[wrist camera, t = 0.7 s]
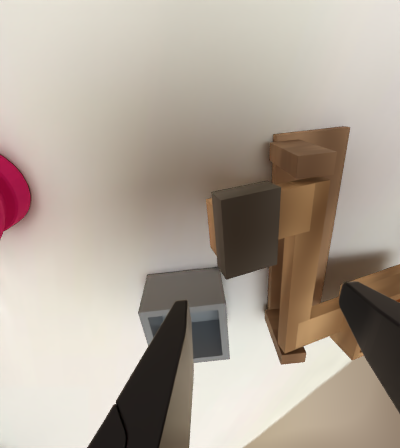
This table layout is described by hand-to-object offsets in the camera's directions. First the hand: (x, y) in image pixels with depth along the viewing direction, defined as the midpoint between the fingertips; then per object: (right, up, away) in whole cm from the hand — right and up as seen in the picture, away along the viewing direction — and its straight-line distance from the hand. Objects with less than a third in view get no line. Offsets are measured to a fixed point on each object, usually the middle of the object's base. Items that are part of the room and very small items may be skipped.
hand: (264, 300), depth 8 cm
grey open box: (-3, -5, +16) cm, 17 cm away
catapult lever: (+7, -1, +10) cm, 12 cm away
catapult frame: (+6, +1, +13) cm, 15 cm away
